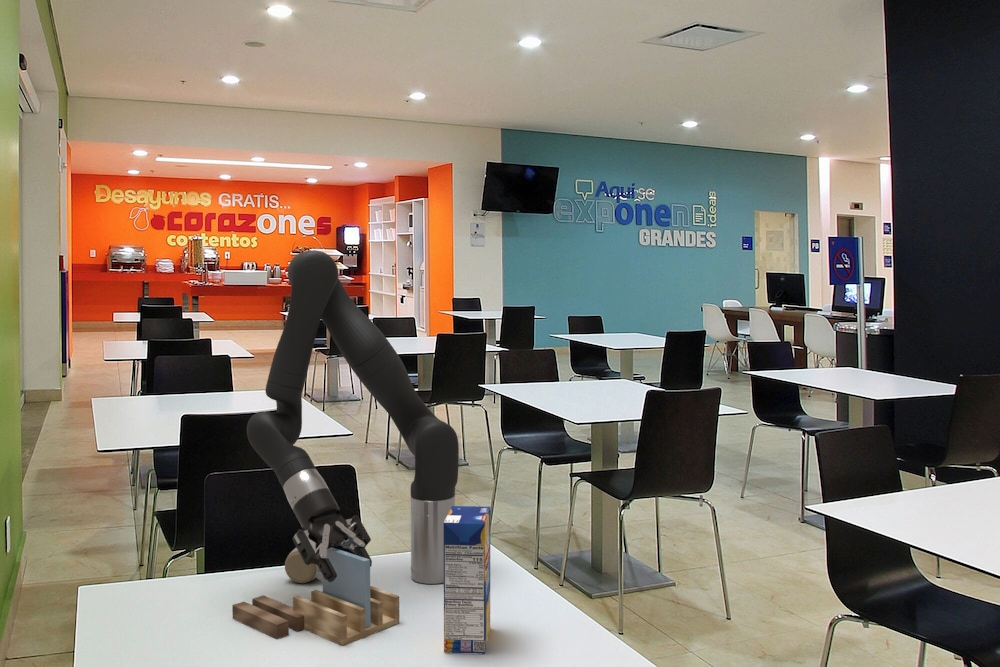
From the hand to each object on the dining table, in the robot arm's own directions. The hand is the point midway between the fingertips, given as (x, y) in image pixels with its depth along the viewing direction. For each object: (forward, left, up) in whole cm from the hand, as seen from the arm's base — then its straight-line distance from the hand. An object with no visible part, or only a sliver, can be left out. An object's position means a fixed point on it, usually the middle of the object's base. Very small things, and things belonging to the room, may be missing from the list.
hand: (351, 573), depth 155 cm
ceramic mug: (-1, -28, -10) cm, 29 cm away
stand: (+13, -8, -10) cm, 18 cm away
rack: (+1, -1, -10) cm, 10 cm away
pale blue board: (+1, -1, -9) cm, 9 cm away
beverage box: (-15, +16, -10) cm, 24 cm away
